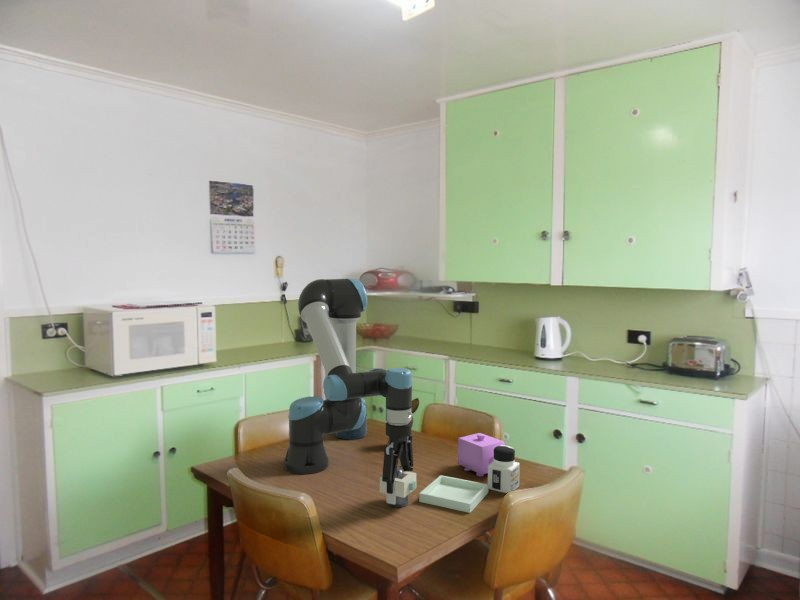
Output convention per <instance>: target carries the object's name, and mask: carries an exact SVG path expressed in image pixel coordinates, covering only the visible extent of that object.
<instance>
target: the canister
mask: <svg viewBox="0 0 800 600" xmlns="http://www.w3.org/2000/svg"><path fill="white" fill-rule="evenodd" d="M364 401H365V402H366V400H365V399H364ZM365 406H366V409H367V408H368V406H367V404H365ZM367 418H368V414H367V412H366V415H365V420H364V422H363V424H362V425H361V427H360V428H358V429H354V430H351V431H343V432H336V433H335V437H337V438H338V439H342V440H359V439H363V438H365V437H366V436H367V433H368V425H367V423H368V421H367V420H368V419H367Z"/></svg>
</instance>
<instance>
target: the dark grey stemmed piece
mask: <svg viewBox="0 0 800 600" xmlns="http://www.w3.org/2000/svg"><path fill="white" fill-rule="evenodd" d="M395 478H398V479H402V466H401V465H397V470H396V475H395ZM387 504H388V506H390V507H391V508H395V509H398V508H399V509H401V508H405V507H407V506H408V505H409V494H408V495H407V496H406V497H405V498H403V497H398V496H396V504H395V505H394V504H389V503H387Z"/></svg>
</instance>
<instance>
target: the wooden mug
mask: <svg viewBox="0 0 800 600" xmlns="http://www.w3.org/2000/svg"><path fill="white" fill-rule="evenodd" d="M419 405H420V399H419V398H418V397H416V398H414V399H412V405H411V412H412V416H411V421H410V422H411V429H412V428H413V424H414V418H413V414H415V413H416V412H417V411H418V408H419ZM389 442H390V438H389V437H388V440H387V442H386V447H388V446H389Z"/></svg>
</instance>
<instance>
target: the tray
mask: <svg viewBox="0 0 800 600" xmlns="http://www.w3.org/2000/svg"><path fill="white" fill-rule="evenodd" d="M488 494H489V489H488V483H484V482H483V483H482V482H478V481H472V480H466V479H462V478H458V477H452V476H446V475H442V474H441V475H440V474H439V476H438V477H437V478H435V479H434V480H433V481H432V482H431V483H429V484H428V485H427V486H426V487H425V488H423V489H422V490H421V491H420V492H419V493H418V495H419V497H418V498H419V500H418V501H419V503H422V504H423V503H424V504H428V505H433V506H436V507H437V506H438V507H442V508H447V509H451V510H455V511H460V512H465V513H469V514H470V513H472V511H473V510H474V509H475V508H476V507H477V506H478V505H479V504H480V503H481V502H482V500H483V499H484V498H485V497H486V496H487V495H488Z"/></svg>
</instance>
